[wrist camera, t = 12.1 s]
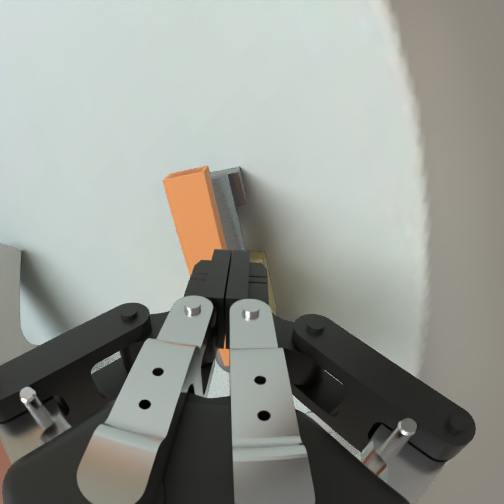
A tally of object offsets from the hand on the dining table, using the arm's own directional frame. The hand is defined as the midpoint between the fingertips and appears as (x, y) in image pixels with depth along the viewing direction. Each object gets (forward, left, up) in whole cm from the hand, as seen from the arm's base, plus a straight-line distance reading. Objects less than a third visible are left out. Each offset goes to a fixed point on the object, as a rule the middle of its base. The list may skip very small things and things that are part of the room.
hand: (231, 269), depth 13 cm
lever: (-5, +3, -9) cm, 10 cm away
